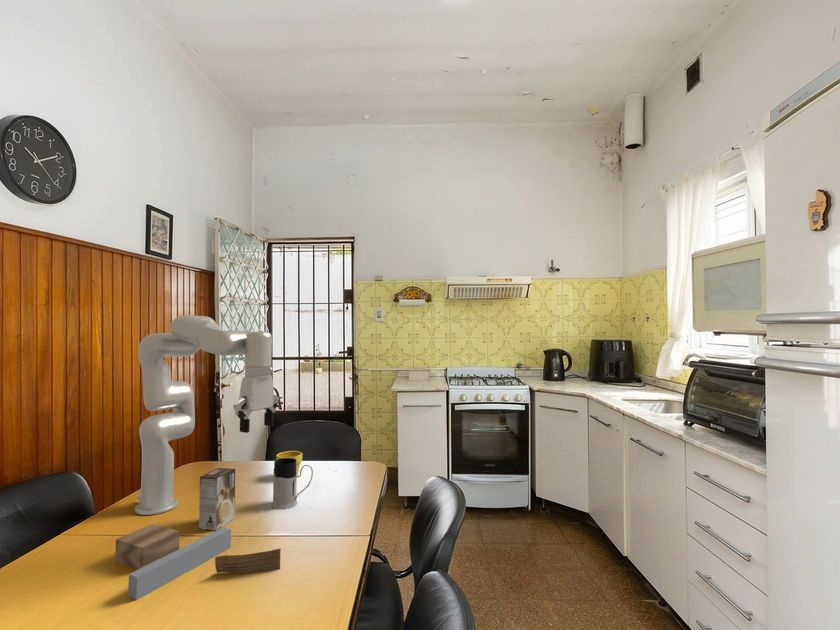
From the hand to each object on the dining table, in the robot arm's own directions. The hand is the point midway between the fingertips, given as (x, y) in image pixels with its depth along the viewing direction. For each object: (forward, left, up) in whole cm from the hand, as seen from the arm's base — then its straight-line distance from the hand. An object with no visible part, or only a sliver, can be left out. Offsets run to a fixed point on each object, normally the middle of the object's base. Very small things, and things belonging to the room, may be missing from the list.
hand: (257, 428), depth 129 cm
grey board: (-1, -22, -31) cm, 38 cm away
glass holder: (-5, +22, -31) cm, 39 cm away
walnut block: (-16, -22, -32) cm, 42 cm away
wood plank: (+14, -16, -32) cm, 38 cm away
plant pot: (-25, +43, -31) cm, 59 cm away
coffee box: (-16, 0, -31) cm, 35 cm away
